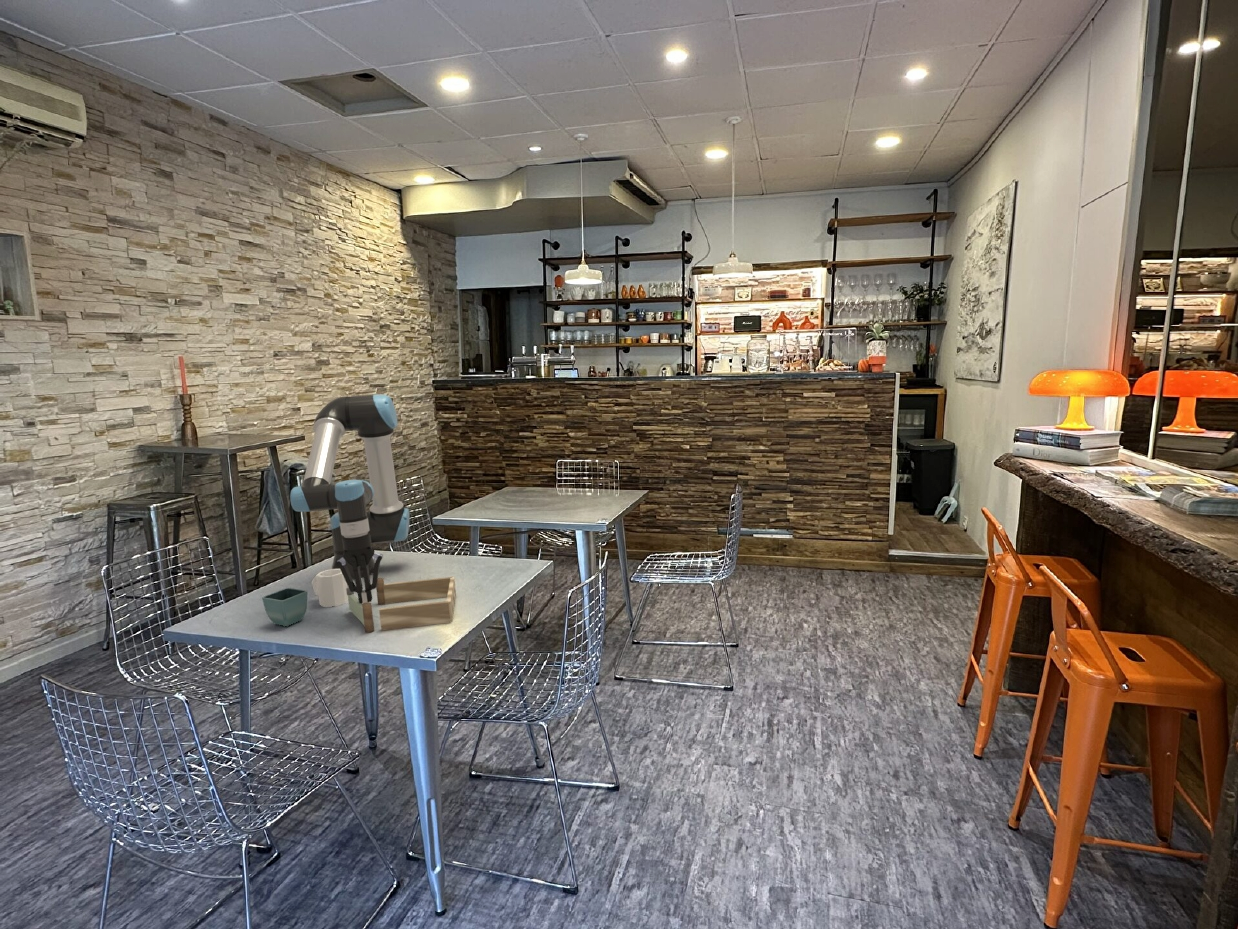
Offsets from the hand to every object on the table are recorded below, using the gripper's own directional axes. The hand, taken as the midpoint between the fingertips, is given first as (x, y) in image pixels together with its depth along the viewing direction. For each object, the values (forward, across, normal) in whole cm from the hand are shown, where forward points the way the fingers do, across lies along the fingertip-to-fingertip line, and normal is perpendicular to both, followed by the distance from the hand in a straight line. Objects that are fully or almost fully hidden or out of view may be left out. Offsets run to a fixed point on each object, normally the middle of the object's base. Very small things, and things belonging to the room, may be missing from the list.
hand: (367, 612), depth 188 cm
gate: (+2, -3, +2) cm, 4 cm away
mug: (+2, -15, +22) cm, 26 cm away
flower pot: (+2, -23, +7) cm, 24 cm away
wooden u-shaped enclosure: (+3, +13, +3) cm, 13 cm away
